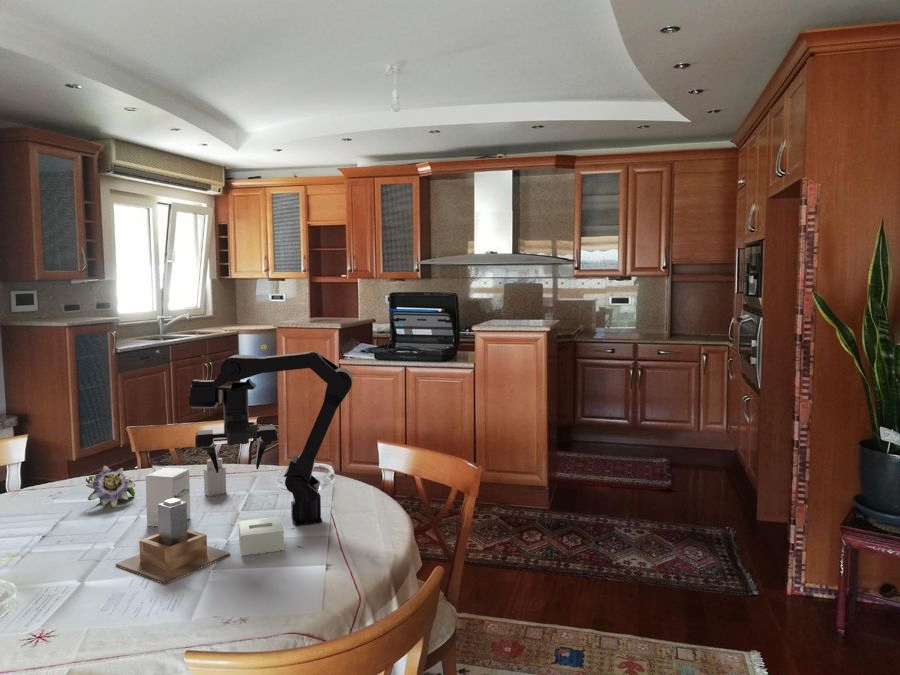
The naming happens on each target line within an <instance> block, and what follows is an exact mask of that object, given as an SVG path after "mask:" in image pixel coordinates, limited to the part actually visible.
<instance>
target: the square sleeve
mask: <svg viewBox="0 0 900 675" xmlns="http://www.w3.org/2000/svg"><path fill="white" fill-rule="evenodd" d="M187 530H188V540H186V541H183V542H181V543H178V544H176V545H173V546H171V547H168V546H165V545H162V544H159V532H158V533H155V534H152V535H150V536H147V537H145V538H142V539H140V540H139V541H138V542H139V554H136V555H134V556H131V557H129V558H126V559H124V560H121V561H119V562H117V563H115V566H116V565H117V566H116V567H118V566H119V567H118V568H120V567H122V568H121V569H123V568H125V569H124V570H126V569H127V570H126V571H128V570H130V571H129V572H131V571H133V572H132V573H134V572H135V573H134V574H136V573H138V574H137V575H139V574H141V575H140V576H142V575H143V576H142V577H144V576H146V577H145V578H147V577H148V578H147V579H150V580H152V579H153V581H155V580H156V581H155V582H157V581H159V582H158V583H160V582H161V583H160V584H163V585H168V584H170V583H172V582H174V581H176V580H178V579H180V577H181V578H182V576H183V577H184V575H185V576H187V575H189V574H191V572H192V573H194V572H196V571H198V570H200V569H202V568H201V567H203V568H205V567H207V566H209V565H211V564H213V562H214V563H216V562H218V561H221V560H223V559H225V558H228V557H229V556H231V552H229V551H226V550H222V549H220V548H216V547H213V546H209V545H208V537H207V536H208V534H205V533H202V532H199V531H197V530H192V529H190V528H187ZM215 561H216V562H215ZM210 563H211V564H210ZM208 564H209V565H208ZM206 565H207V566H206ZM204 566H205V567H204ZM199 568H200V569H199ZM197 569H198V570H197ZM195 570H196V571H195ZM193 571H194V572H193ZM188 573H189V574H188ZM173 580H174V581H173ZM171 581H172V582H171ZM169 582H170V583H169Z"/></svg>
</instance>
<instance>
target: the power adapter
mask: <svg viewBox="0 0 900 675" xmlns="http://www.w3.org/2000/svg"><path fill="white" fill-rule="evenodd" d="M216 456H217V461H218V473H217V472H216V470H215V467H214V464H213V462H212V459H211V458H209V459H206V468H205V467H204V468H203V482H204V483H203V484H204V485H203V487H204V496H206V495H207V496H206V497H213V495H214V496H218V495H222V494H225V493H227V469H226V466H225V465H223V457H219V449H217V450H216Z"/></svg>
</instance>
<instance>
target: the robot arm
mask: <svg viewBox="0 0 900 675" xmlns="http://www.w3.org/2000/svg"><path fill="white" fill-rule="evenodd" d="M304 369H309V370H311V371H312V372H314V373H315V374H316V375H317V376H318V377H319V378H320V380H322V381H324V382H325V383H326V388H325V392H324V397H323V403H322V405H321V407H320V410H319V411H318V415H317V416H316V419H315V421H314V424H313V426H312V428H311V431H310V433H309V434H308V437H307V440H306V442H305V445H304V447H303V449H302V451H301V452H300V454H299V455H298V456H296V455H295V454H292V457H291V459H290V461H289V464H288V467H286V468H287V469H286V470H285V473H284V475H283V477H284V478H285V480H284V486H285V488H286V489H287V490H288V492H289V493H291V494H292V496H293V500H292V501H290V512H291V513H290V514H291V516H290V518H291V521H293V523H294V525H295V526H303V525H311V524H317V523H323V518H322V512H321V511H322V510H321V509H322V506H321V505H322V503H321V501H322V500H321V494H320V492H319V489H320V484H321V482H320V481H319V480H318V479H317V478H316V477H315V476H314V475H313V470H314V467H315V461H316V458H317V455H318V453H319V451H320V449H321V446H322V444H323V442H324V439H325V438H326V434H327V432H328V430H329V427H330V425H331V423H332V421H333V418H334V417H335V416H334V415H336V412H337V410H338V408H339V406H340V405H341V403H342V402H344V400H345V398H346V396H347V395H348V393H349V392H350V391H351V389H352V387H353V386H352V385H353V383H354V382H353V380H354V378H353V377H354V376H353V374H352V372H351V371H350V370H349V369H347V368H344V367H339V366H337V365H336V364H335V363H334V362H333V361H331V360H329V359H328V358H326V357H325V356H323V355H322V354H321V353H320V352H319V351H317V350H310V351H305V352H304V351H303V352H296V353H288V354H277V355H276V354H275V355H269V356H268V355H267V356H258V355H257V356H256V355H250V354H234V355H231V356H229V357H228V358H225V360H224V361H223V362H222V363H221V365H220V372H219V374H217V376H216V377H215V378H214V380H213V379H206V380H205V379H204V380H202V379H193V380H192V381H191V385H190V386H191V387H190V389H189V395H188V403H189V406H190V408H191V409H217V407H218V404H219V405H220V404H222V400H223V432H219V433H218V432H216V433H215V432H214V430H213V429H205V430H204V429H202V430H197V431H196V432H195V435H194V436H195V437H194V439H195V440H194V441H195V443H194V444H195V448H201V450H202V451H206V452H207V453H208V455H209V457H210V459H212V462H213V464H214V467H215V470H216V472H217V473H218V461H217V450H216V444H215V442H223V441H224V442H225V441H226V444H227V445H229V446H235V445H247V444H248V443H249V441H250V440H251V439H257V445H256V446H257V448H256V455H255V468H256V470H259V467H260V464H261V462H262V458H263V455H264V452H265V451H266V449H267V447H268V446H271V445H273V442H277V441H278V430H277V428H276V427H275V426H274V425H263V426H262V425H261V426H258V425H257V424H258V423H257V421H250V419H249V418H250V416H249V414H250V413H249V391H250V390H255V389H256V388H257V384H256V383H255V382H253V381H252V380H251V377H254V376H258V375H260V374H267V373H276V372H277V373H278V372H285V371H293V370H295V371H296V370H304ZM245 379H246V380H245ZM240 380H245V381H240ZM228 382H232V383H231V385H225V384H226V383H228ZM213 432H214V433H213Z"/></svg>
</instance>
